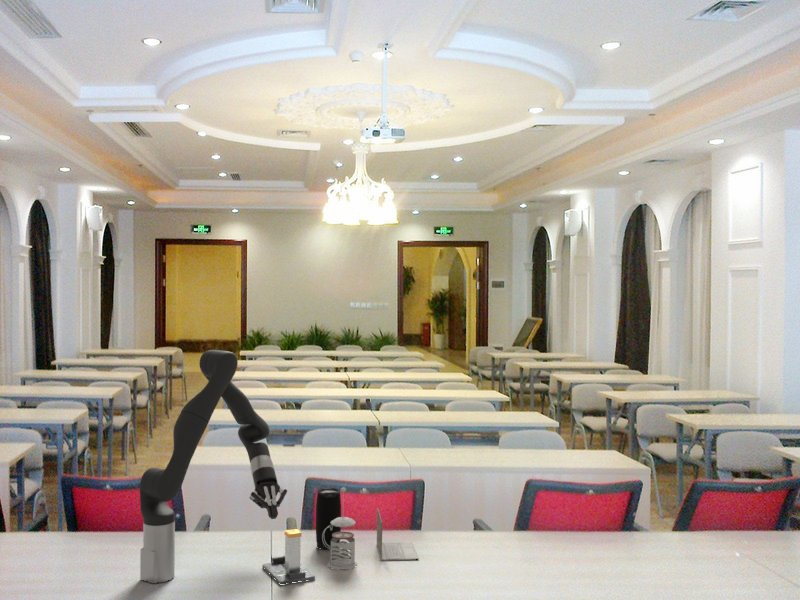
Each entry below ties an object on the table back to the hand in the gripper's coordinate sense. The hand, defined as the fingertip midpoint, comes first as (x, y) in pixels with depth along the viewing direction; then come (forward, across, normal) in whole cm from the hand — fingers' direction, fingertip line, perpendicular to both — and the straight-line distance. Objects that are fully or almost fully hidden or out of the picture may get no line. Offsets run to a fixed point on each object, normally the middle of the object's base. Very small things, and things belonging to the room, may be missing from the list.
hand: (274, 517), depth 268 cm
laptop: (+15, +41, +5) cm, 44 cm away
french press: (+18, +19, +3) cm, 26 cm away
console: (+19, +1, +2) cm, 19 cm away
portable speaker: (+5, +22, +15) cm, 27 cm away
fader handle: (+20, +1, -2) cm, 21 cm away
